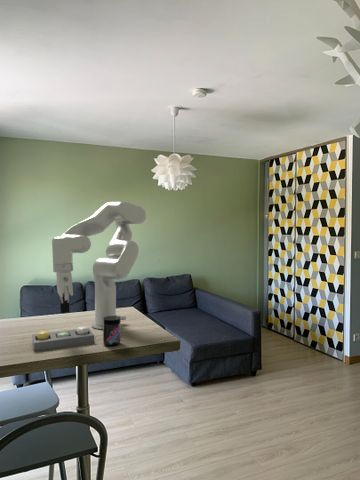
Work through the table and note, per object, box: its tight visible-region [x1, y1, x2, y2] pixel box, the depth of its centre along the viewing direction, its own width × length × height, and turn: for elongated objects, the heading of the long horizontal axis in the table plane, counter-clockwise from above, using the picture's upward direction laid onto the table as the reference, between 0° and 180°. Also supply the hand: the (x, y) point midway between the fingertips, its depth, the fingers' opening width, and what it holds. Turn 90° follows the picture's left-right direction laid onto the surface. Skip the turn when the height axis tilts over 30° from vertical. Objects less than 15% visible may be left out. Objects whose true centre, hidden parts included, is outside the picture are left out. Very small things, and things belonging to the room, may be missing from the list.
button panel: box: [31, 327, 95, 352], centre depth 138 cm, size 22×11×3 cm, turn 116°
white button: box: [76, 326, 89, 335], centre depth 141 cm, size 4×4×2 cm
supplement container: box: [102, 315, 122, 348], centre depth 136 cm, size 7×7×10 cm
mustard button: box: [36, 330, 49, 340], centre depth 135 cm, size 4×4×2 cm
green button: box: [57, 332, 69, 338], centre depth 138 cm, size 4×4×2 cm
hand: (65, 312), depth 140 cm, fingers closed
